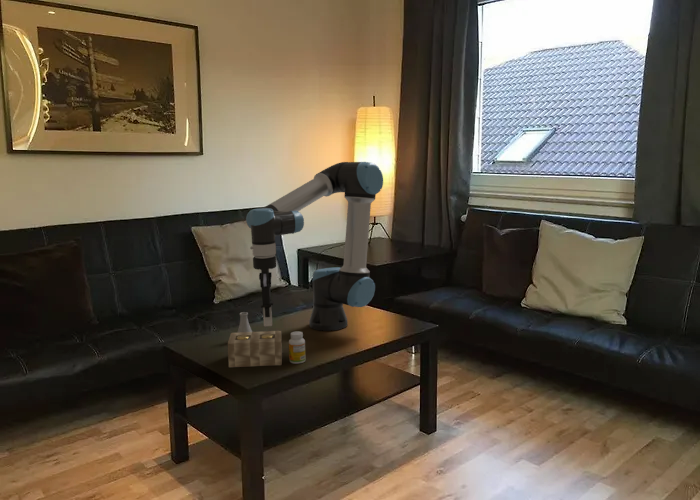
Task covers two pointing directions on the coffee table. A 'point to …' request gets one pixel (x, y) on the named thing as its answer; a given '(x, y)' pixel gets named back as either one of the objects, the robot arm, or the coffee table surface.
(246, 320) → the flask
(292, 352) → the supplement bottle
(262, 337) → the peg
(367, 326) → the coffee table surface
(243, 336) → the peg
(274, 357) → the birch block
